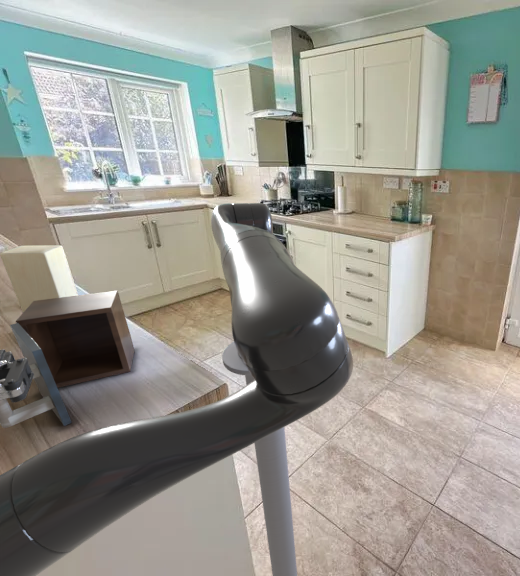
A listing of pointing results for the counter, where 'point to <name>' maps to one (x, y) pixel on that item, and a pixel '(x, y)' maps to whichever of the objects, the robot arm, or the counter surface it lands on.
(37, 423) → the counter surface
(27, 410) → the door
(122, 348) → the cupboard
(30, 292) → the cream rectangular block
